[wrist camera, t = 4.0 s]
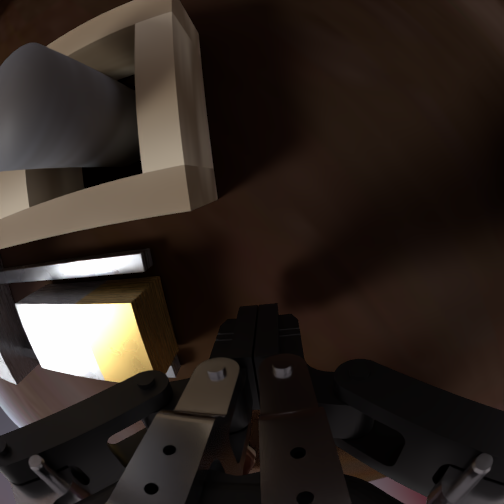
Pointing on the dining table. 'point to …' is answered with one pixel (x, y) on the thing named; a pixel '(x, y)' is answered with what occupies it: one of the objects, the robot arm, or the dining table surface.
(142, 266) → the guide
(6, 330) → the socket block
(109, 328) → the white and yellow block
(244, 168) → the dining table surface
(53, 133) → the rack
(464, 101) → the dining table surface
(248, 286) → the dining table surface
